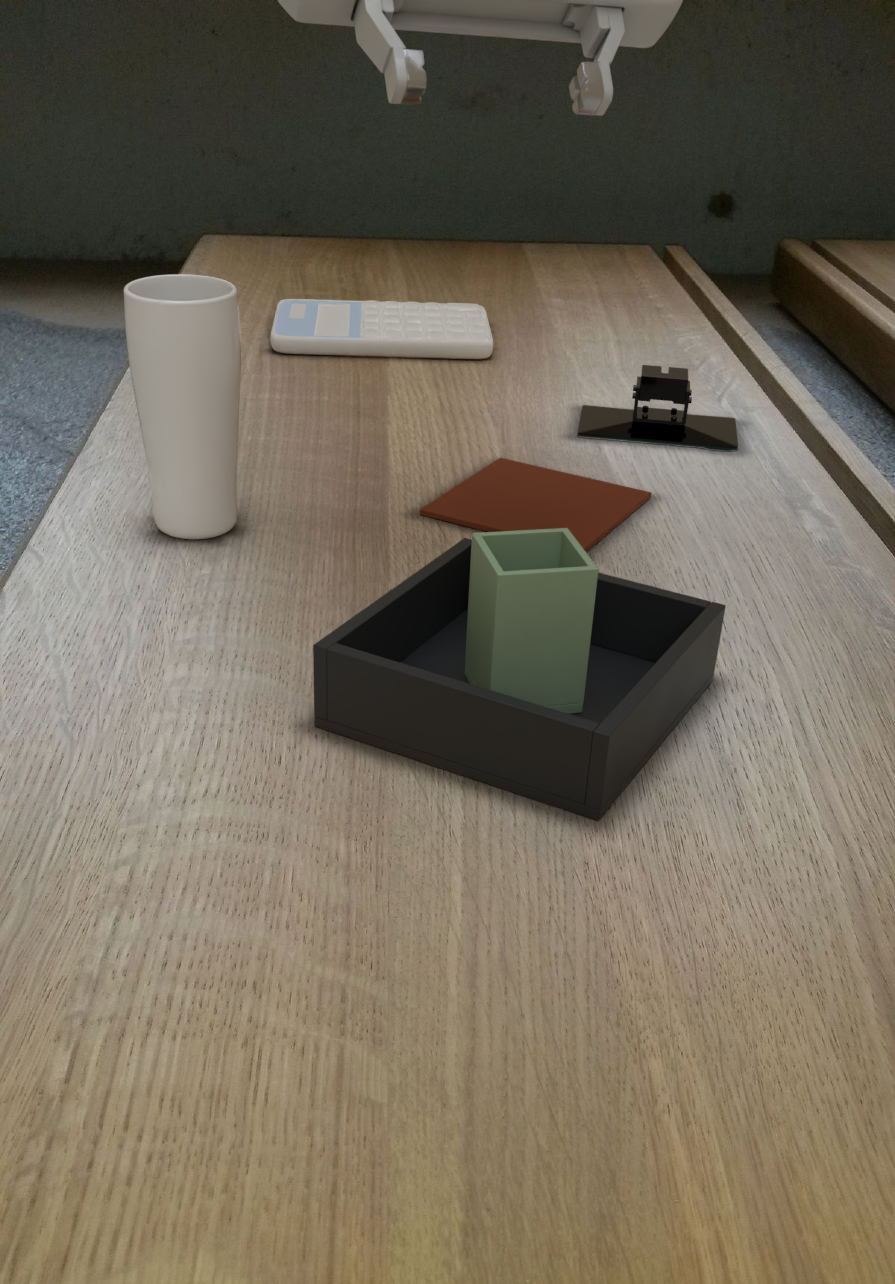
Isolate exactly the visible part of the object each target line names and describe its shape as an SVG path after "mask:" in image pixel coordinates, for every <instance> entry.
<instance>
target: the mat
mask: <svg viewBox="0 0 895 1284" xmlns="http://www.w3.org/2000/svg"><path fill="white" fill-rule="evenodd" d="M651 498H652V492H651V491H647V490H643V489H639V488H634V487H630V486H626V485H621V484H616V483H612V482H608V481H604V480H599V479H596V478H590V477H586V476H582V475H578V474H573V473H569V472H565V471H561V470H555V469H552V468H547V467H543V466H539V465H534V464H530V463H525V462H521V461H518V460H517V461H516V460H512V459H508V458H504V457H499V458H497V459H496V460H494V461H493V462H491V463H489V464H488V465H487V466H485V467H483V468H481V469H480V470H479V471H477V472H475V473H474V474H473V475H471V476H470V477H468V478H466V479H464V480H463V481H462V482H460V483H458V484H457V485H455V486H454V487H452V488H451V489H449V490H447V491H446V492H445V493H443V494H441V495H439V496H438V497H436V498H435V499H433V500H431V501H430V502H429V503H427V504H426V505H424V506H423V507H421V508H420V509H419V515H420V516H425V517H428V518H432V519H436V520H439V521H444V522H447V523H452V524H455V525H459V526H464V527H466V528H472V529H476V530H480V531H483V532H501V531H519V530H537V529H555V528H568V529H569V531H570V532H571V533H572V535H573V536H574V537H575V539H576V540H577V541H578V543H579V544H580V545H581V547H582V548H583V549H584V550H585V552H586V553H587V552H588V551H589V550H591V549H592V548H593V547H595V545H596V544H598V543H599V542H600V541H601V540H602V539H603V538H605V537H606V536H607V535H608V534H609V533H611V532H612V531H613V530H614V529H615V528H617V527H618V526H619V525H620V524H622V523H623V522H624V521H625V520H626V519H627V518H628V517H630V516H631V515H632V514H633V513H634V512H635V511H637V510H638V509H640V508H641V506H643V505H644V504H645V503H646V502H647V501H649V500H650V499H651Z"/></svg>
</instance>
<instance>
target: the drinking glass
mask: <svg viewBox="0 0 895 1284" xmlns="http://www.w3.org/2000/svg"><path fill="white" fill-rule="evenodd" d="M122 292H123V310H124V311H123V312H124V313H123V315H124V329H125V341H126V350H127V358H128V366H129V372H130V378H131V383H132V388H133V395H134V400H135V406H136V410H137V416H138V422H139V428H140V429H139V430H140V433H141V440H142V445H143V451H144V452H143V453H144V457H145V462H146V463H145V464H146V468H147V475H148V481H149V488H150V494H151V503H152V514H153V515H152V516H153V522H154V523H155V526H156V527H157V528H158V529H159V531H161V532H162V533H163V534H165V535H168V536H170V537H173V538H177V539H183V540H206V539H213V538H216V537H219V536H222V535H224V534H226V533H229V532H230V531H231V530H232V529H233V528H234V527H235V525H236V524H237V520H238V497H237V486H238V485H237V484H238V457H239V456H238V455H239V452H238V451H239V432H240V431H239V430H240V429H239V428H240V427H239V426H240V404H241V382H242V381H241V380H242V334H241V319H240V308H239V297H238V289H237V286H235V284H234V283H232V282H230V281H229V280H226V279H223V278H219V277H214V276H210V275H209V276H208V275H200V274H186V273H184V274H183V273H177V274H176V273H174V274H173V273H172V274H171V273H170V274H158V275H151V276H145V277H142V278H141V277H140V278H137V279H134V280H132V281H130V282H128V283H127V284H125V285H124V287H123V291H122Z"/></svg>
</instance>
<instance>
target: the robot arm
mask: <svg viewBox="0 0 895 1284" xmlns="http://www.w3.org/2000/svg"><path fill="white" fill-rule="evenodd" d="M683 1H684V0H277V2H278V4H279V5H280V6H281V7H282V8H283V9H284V11H285V12H286V13H287V14H288V15H289V16H290V17H291V18H292V19H293V20H294V22H298V23H303V24H313V25H327V26H340V27H341V26H342V27H354V32H355V40H356V43H357V44H358V45H359V47H360V48H361V49H362V51H363V52H364V54H365V55H367V57H368V58H369V59H370V61H371V62H372V63H373V65H374V66H375V67H376V68H377V70H378V71H379V72H380V74H383V75H384V81H385V82H384V83H385V88H386V96H387V100H388V101H387V102H388V103H389V104H391V105H392V104H394V105H415V106H416V105H418V106H420V105H421V104H422V100H423V99H422V96H424V95H425V93H426V90H427V85H428V77H427V72H426V70H425V69H424V66H425V63H426V62H425V58H424V50H421V49H413V48H412V49H410V48H407V46H406V45H405V44H404V42H403V40H402V39H401V38H400V36H399V35H398V34H397V32H396V30H397V31H410V32H422V33H423V32H425V33H436V34H451V35H463V36H464V35H465V36H478V37H492V38H504V39H505V38H506V39H517V40H518V39H520V40H531V41H533V40H535V41H543V42H544V41H546V42H559V43H572V44H581V48H582V54H583V56H584V57H585V58H586V59H593V58H594V60H593V61H581V62H580V64H579V66H577V67H578V68H577V69H576V73H577V74H575V75H573V77H572V78H571V80H570V82H569V84H568V91H569V96H570V99H571V100H572V101H573V103H572V105H571V108H572V112H573V114H574V115H584V116H600V117H602V116H604V115H605V113H606V112H607V110H608V109H609V107H610V105H611V103H612V101H613V97H614V85H613V84H614V83H613V78H612V73H611V67H610V66H611V64H612V62H613V60H614V58H615V56H616V53H617V51H618V49H619V47H626V48H637V49H649V48H652V47H653V46H654V45H656V43H657V42H658V41H659V40H660V38H661V37H662V36H663V35H664V33H665V32H666V31H667V30H668V28H669V27H670V25H671V24H672V22H673V20H674V19H675V17H676V15H677V13H678V11H679V10H680V8H681V7H682V4H683Z"/></svg>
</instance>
